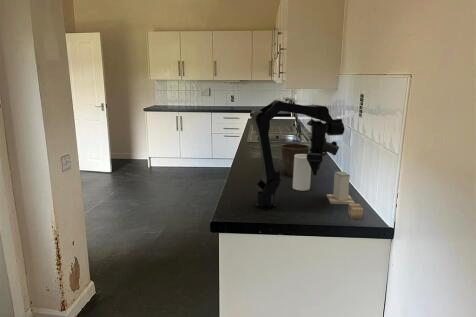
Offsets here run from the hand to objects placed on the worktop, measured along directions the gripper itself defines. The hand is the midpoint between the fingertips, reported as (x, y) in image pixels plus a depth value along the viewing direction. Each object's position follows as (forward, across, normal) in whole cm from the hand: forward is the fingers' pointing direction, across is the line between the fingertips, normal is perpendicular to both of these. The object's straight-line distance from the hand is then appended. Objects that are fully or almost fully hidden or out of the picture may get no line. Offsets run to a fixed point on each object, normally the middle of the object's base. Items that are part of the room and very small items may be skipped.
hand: (316, 172), depth 150 cm
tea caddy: (+12, +6, -10) cm, 17 cm away
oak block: (+13, -11, -17) cm, 24 cm away
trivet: (+13, +6, -10) cm, 17 cm away
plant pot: (+13, +40, +16) cm, 45 cm away
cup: (+13, +16, +9) cm, 23 cm away
